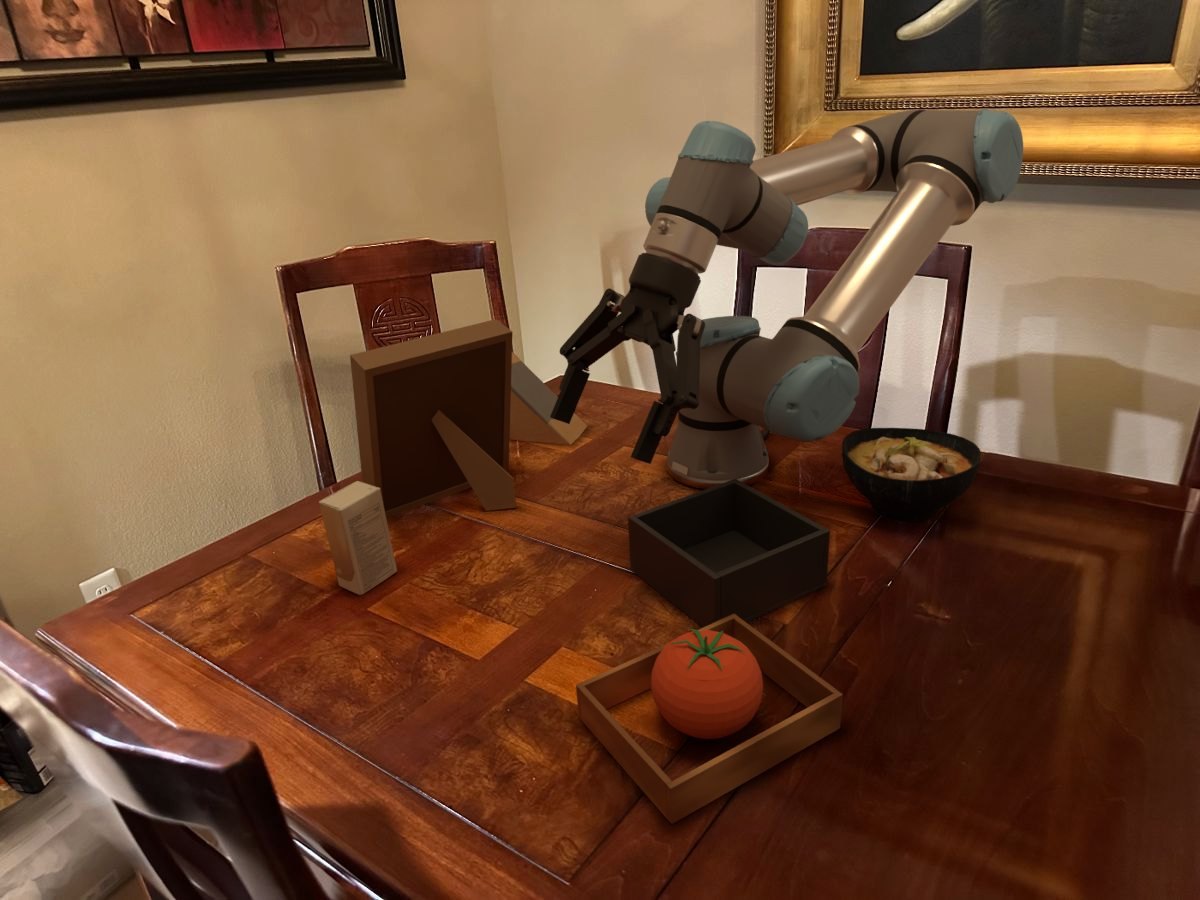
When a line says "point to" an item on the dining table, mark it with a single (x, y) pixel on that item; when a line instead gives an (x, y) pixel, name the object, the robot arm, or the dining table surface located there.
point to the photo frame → (437, 417)
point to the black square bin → (728, 553)
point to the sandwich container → (537, 410)
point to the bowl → (909, 470)
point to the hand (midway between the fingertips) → (598, 440)
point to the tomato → (707, 684)
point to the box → (731, 765)
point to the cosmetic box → (358, 537)
